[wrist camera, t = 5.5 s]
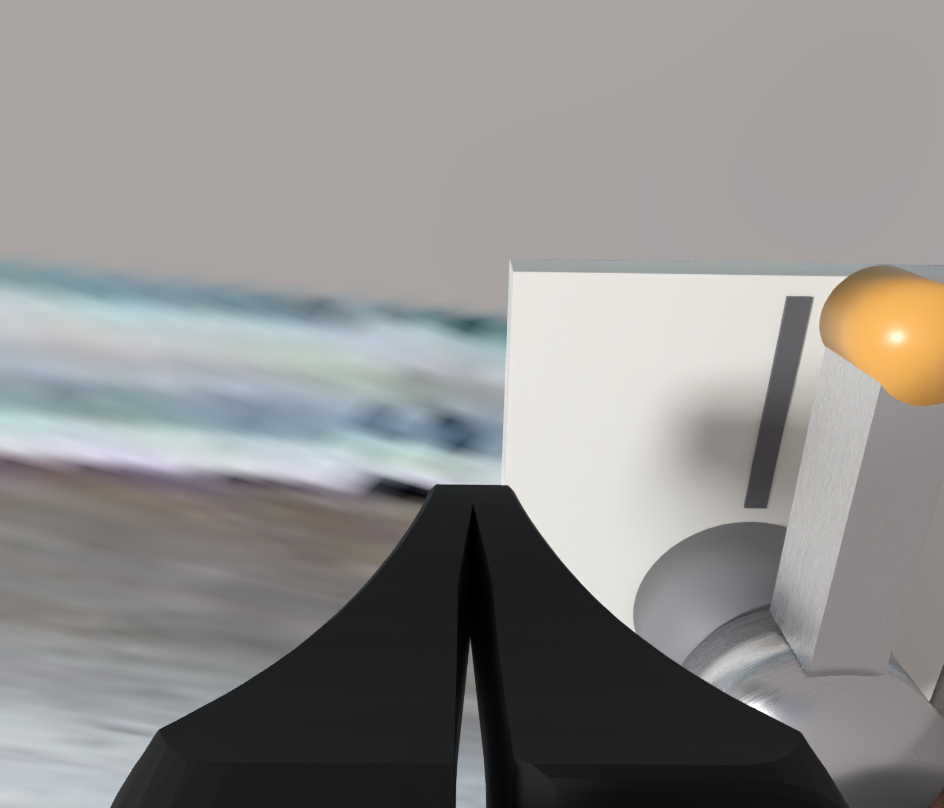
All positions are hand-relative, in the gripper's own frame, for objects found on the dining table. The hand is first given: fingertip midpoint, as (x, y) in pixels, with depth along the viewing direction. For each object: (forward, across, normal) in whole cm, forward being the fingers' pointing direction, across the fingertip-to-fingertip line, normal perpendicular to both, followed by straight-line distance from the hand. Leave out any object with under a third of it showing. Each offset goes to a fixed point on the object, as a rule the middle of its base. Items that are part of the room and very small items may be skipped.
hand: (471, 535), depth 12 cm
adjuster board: (+8, -8, +5) cm, 12 cm away
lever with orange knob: (+3, -8, +3) cm, 9 cm away
